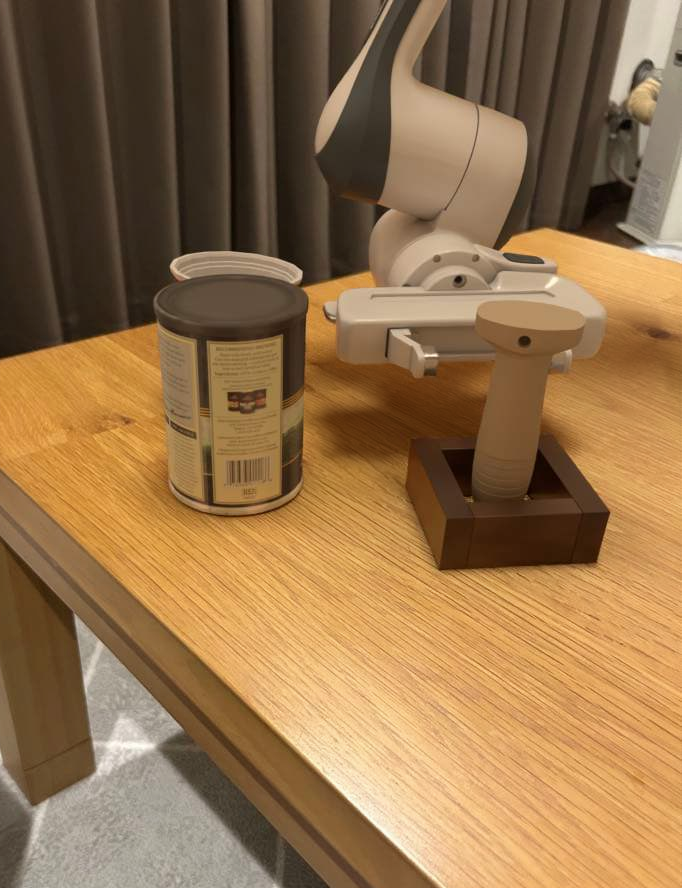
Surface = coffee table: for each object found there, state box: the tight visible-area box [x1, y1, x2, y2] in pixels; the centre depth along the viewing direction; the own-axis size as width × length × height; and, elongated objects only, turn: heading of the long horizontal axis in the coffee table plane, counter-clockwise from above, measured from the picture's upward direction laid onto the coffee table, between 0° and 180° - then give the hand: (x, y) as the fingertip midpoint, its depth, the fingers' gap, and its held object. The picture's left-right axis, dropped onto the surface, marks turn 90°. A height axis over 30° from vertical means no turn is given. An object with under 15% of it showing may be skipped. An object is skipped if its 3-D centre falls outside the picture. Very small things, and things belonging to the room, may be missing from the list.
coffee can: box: [153, 274, 310, 517], centre depth 61 cm, size 10×10×14 cm
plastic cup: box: [169, 250, 303, 286], centre depth 73 cm, size 11×11×12 cm
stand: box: [405, 433, 611, 570], centre depth 60 cm, size 11×11×4 cm
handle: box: [471, 300, 586, 502], centre depth 57 cm, size 5×6×15 cm
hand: (494, 366), depth 60 cm, fingers open, 8 cm apart
